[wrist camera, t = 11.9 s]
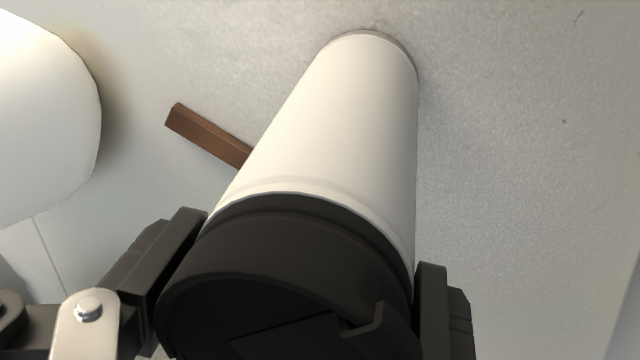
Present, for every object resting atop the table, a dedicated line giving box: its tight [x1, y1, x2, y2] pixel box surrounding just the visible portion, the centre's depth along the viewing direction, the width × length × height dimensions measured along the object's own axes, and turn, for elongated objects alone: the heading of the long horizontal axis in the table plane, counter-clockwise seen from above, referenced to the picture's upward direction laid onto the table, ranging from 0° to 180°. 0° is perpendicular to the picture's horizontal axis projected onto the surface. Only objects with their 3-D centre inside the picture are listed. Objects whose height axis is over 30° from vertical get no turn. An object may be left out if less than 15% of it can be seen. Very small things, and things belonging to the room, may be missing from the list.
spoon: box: [165, 103, 254, 171], centre depth 31 cm, size 18×5×1 cm, turn 59°
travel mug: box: [153, 30, 423, 360], centre depth 19 cm, size 6×7×20 cm
